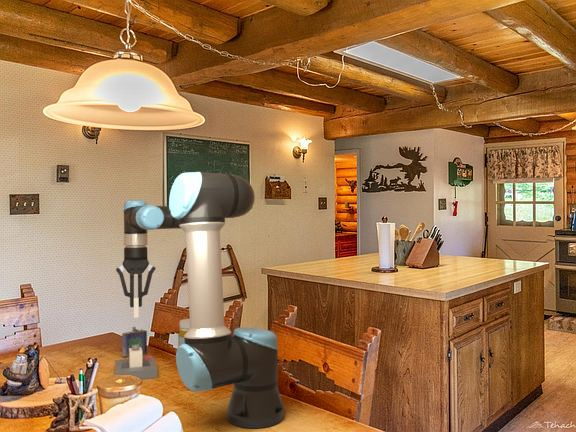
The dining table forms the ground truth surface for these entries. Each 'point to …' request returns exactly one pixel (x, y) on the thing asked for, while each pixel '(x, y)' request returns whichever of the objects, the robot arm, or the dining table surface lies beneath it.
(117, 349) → the dining table surface
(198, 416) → the dining table surface
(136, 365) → the cream rectangular container
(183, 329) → the bottle
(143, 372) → the socket
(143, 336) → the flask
